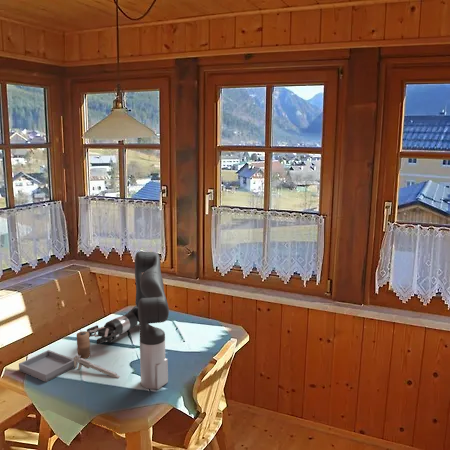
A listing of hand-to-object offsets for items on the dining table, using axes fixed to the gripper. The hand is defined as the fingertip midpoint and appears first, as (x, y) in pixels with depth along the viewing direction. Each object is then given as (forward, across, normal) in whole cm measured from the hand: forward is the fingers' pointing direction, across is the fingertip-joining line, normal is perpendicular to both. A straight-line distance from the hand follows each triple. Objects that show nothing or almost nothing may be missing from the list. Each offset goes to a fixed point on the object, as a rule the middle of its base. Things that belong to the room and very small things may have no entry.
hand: (90, 339), depth 200 cm
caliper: (+10, +14, +6) cm, 19 cm away
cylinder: (+4, 0, +6) cm, 7 cm away
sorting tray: (+19, -4, +6) cm, 20 cm away
